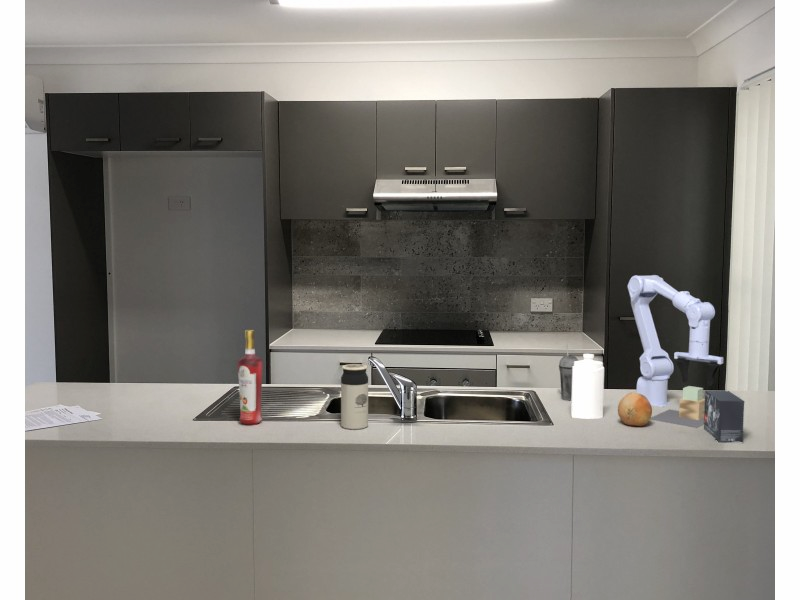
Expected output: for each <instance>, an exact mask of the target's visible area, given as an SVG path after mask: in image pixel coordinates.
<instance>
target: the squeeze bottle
mask: <svg viewBox="0 0 800 600" xmlns="http://www.w3.org/2000/svg"><path fill="white" fill-rule="evenodd" d="M582 357H583V359H580V360H578V361H574V366H572V394H571V401H570V402H571V403H570V418H572V419H583V420H586V419H587V420H588V419H589V420H592V419H593V420H596V419H603V418H604V391H605V367H604V362H602V361H599V360H594V358H595V354H593V353H583V354H582Z"/></svg>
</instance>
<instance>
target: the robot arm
mask: <svg viewBox="0 0 800 600" xmlns="http://www.w3.org/2000/svg"><path fill="white" fill-rule="evenodd" d="M627 290H628V293H629V297H630V305H631V308H632V312H633V313H632V314H633V315H634V319H635V324H636V327H637V330H638V334H639V337H640V342H641V345H642V348H643V353H642V354H641V355H640V357H639V363H640V365H639V366H640V367H639V368H640V373H641V375H642V376H640V377H638V379H637V382H636V393H639V394H642V395H644V396H645V397H646V398H647V399H648V401H649V402H650V404H651V407H652V406H654V407H659V408H664V407H666V406H669V405H670V404H672V402H670V401H668V386H669V385H668V384H669V383H668V382H669V380H668V379H670V376H671V375H672V374H673V373H674V368H675V367H674V363H673V361H672V360H671V359H670V355H669V353H668V352H667V351H666V350H664V349H663V348H661V345H660V341H659V338H658V337H659V336H658V333H657V330H656V327H655V323H654V319H653V315H652V313H651V309H650V305H649V304H650V303H651V302H652V301H653V300H654V298H655V297H656V296H657V295H658V294H659V295H661V296H663V297H664V298H666V299H668V300H670V301H671V302H672V305H673V306H674V308H676V309H678V310H679V311H680V312H683V313H684V314H685V315H686V318H687V320H688V325H689V341H688V342H689V343H688V352H681V351H680V352H679V351H676V352H674V354H673V355H674V357H673V358H674V360H676V361H675V363H676V365H677V367H678V369H679V372H680V375H681V379H682V383H687V382H688V379H689V376H688V375H689V367H690V366H689V365H690V361H695V362H701V363H706V370H707V379H706V380H707V381H706V384H707V385H706V386H707V387H711V386H712V385H713V382H714V379H715V376H716V375H717V372H718V370H719V369H720V367H721V365H722V364H724V356H716V355H710V354H709V353H710V352H709V349H710V348H709V347H710V330H711V329H710V327H711V320H713V319H714V317H715V314H716V310H715V307H714V305H713V304H712V303H710V302H709V301H707V302H706V301H704V302H702V301H701V299H700V298H696V297H694V296H692V295H691V294H690V293H691V292H689V291H687V290H686V291H685V290H684V291H683V290H682V291H678V290H677V289H675V288H674V287H673V286H671V285H670V284H668V283H667V282H666V281H664V278H663V277H660V276H659V275H656V274H652V275H636V274H635V275H633V276H631V278H630V279H629V281H628V284H627Z"/></svg>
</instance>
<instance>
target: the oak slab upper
mask: <svg viewBox="0 0 800 600" xmlns="http://www.w3.org/2000/svg"><path fill="white" fill-rule="evenodd" d="M678 408H683V409H689V410H695V411H700V410H702V409H705V398H703V399H702V400H700V401H691V400H685V399H683V397H681V398H679V407H678Z"/></svg>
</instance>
